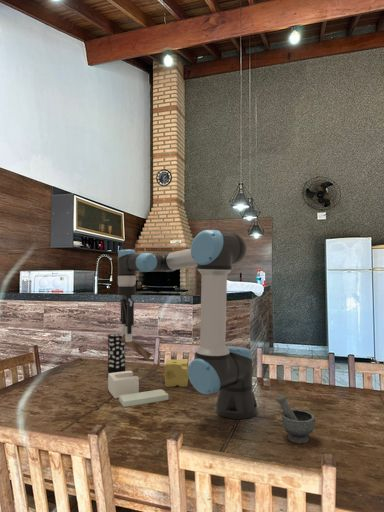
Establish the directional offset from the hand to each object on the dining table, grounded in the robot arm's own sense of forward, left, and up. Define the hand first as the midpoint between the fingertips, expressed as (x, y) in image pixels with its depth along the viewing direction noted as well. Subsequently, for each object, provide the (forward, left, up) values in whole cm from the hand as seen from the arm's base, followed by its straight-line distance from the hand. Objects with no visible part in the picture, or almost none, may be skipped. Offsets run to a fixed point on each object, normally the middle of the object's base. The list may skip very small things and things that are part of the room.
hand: (127, 340), depth 155 cm
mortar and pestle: (-64, -35, -22) cm, 77 cm away
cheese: (+2, -23, -22) cm, 32 cm away
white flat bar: (-13, -3, -22) cm, 25 cm away
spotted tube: (+25, -1, -22) cm, 33 cm away
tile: (0, -3, -4) cm, 5 cm away
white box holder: (0, +2, -22) cm, 22 cm away
